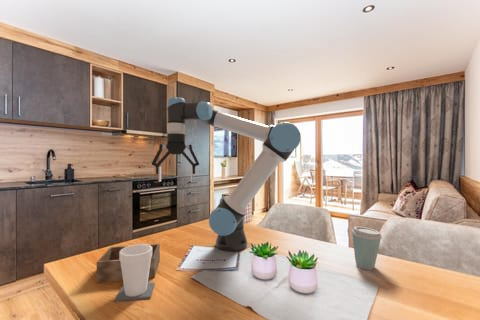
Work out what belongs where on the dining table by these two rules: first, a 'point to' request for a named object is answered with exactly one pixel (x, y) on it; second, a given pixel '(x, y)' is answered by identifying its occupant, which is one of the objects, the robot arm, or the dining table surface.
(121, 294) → the mat
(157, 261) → the crate
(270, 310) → the dining table surface
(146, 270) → the foam cup
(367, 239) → the disposable coffee cup
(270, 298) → the dining table surface
